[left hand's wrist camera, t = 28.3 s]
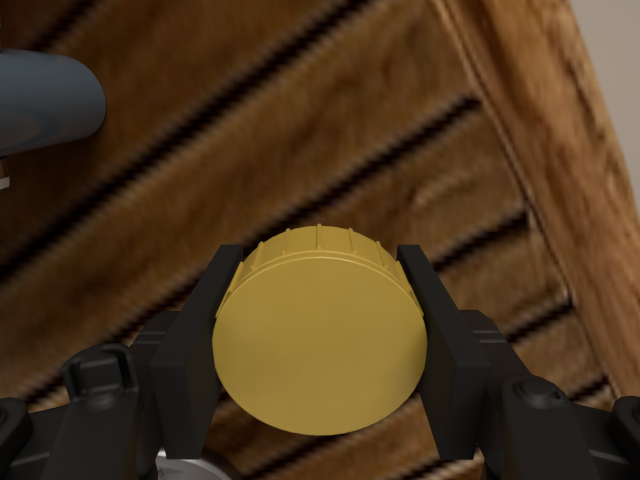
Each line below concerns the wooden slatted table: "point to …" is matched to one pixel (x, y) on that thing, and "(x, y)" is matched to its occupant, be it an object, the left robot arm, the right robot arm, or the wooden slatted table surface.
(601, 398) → the wooden slatted table surface
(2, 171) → the right robot arm
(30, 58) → the blue-grey cylinder
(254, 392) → the lid
